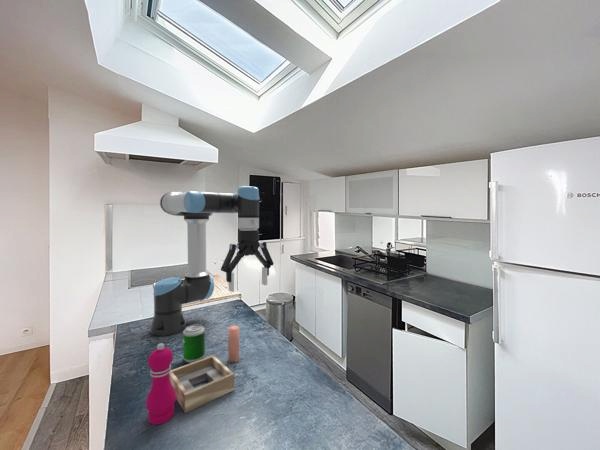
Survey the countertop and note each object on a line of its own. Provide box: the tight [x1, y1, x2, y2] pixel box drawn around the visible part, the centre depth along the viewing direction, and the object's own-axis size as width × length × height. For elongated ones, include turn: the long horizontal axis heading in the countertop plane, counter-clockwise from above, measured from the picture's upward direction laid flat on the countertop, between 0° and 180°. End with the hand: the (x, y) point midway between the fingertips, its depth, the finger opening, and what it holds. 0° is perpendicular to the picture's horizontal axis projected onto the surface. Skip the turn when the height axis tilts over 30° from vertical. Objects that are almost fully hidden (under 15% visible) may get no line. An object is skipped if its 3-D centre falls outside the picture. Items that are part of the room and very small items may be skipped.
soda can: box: [182, 323, 206, 364], centre depth 103 cm, size 8×8×12 cm
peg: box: [227, 325, 240, 363], centre depth 103 cm, size 4×4×12 cm
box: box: [169, 354, 235, 413], centre depth 86 cm, size 15×15×5 cm
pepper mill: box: [145, 342, 177, 425], centre depth 74 cm, size 7×7×20 cm
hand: (248, 287), depth 100 cm, fingers open, 13 cm apart
